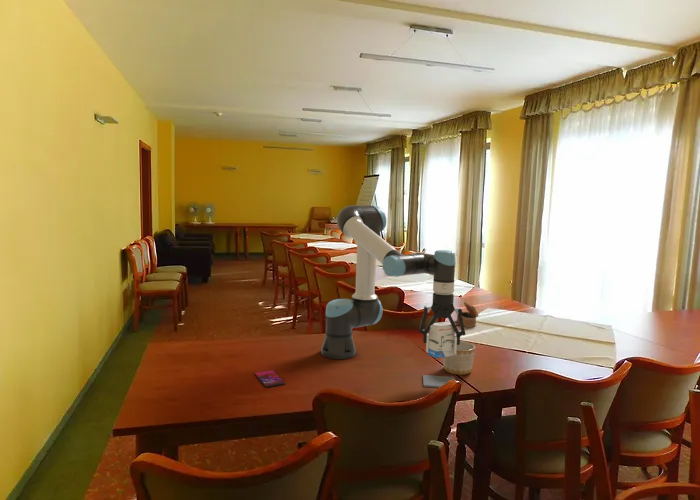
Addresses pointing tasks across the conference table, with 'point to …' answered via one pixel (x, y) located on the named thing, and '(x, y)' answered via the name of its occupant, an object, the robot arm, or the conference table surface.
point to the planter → (460, 359)
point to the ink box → (441, 340)
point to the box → (469, 316)
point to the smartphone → (269, 379)
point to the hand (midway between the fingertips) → (440, 352)
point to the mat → (435, 380)
